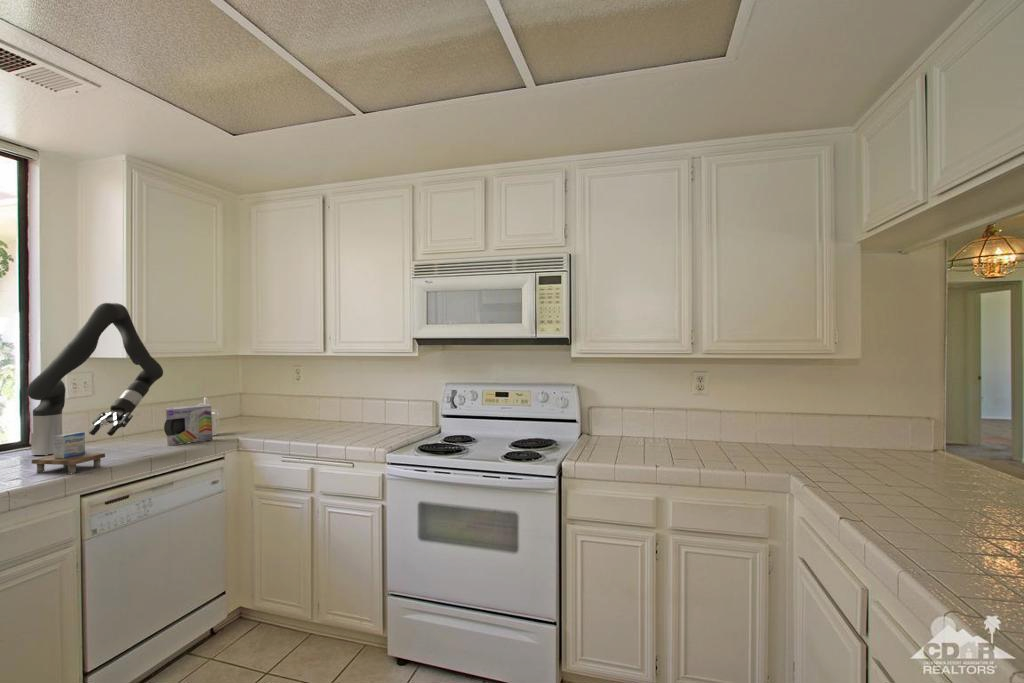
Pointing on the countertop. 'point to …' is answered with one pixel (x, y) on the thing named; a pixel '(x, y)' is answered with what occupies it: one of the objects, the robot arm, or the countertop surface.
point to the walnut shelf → (68, 461)
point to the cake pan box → (188, 424)
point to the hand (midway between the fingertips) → (100, 434)
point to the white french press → (206, 402)
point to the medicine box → (69, 445)
